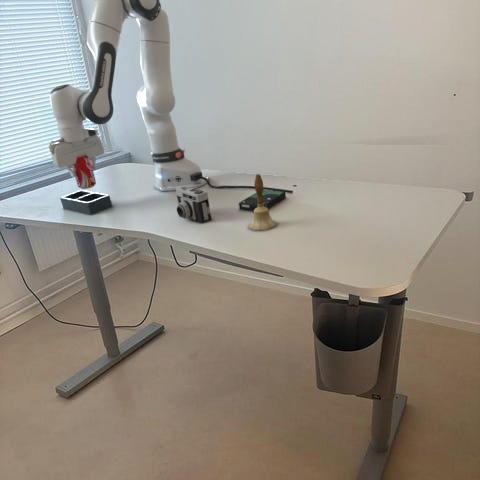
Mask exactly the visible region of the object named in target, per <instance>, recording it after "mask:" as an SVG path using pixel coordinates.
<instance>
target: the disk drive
mask: <svg viewBox="0 0 480 480" xmlns="http://www.w3.org/2000/svg"><path fill="white" fill-rule="evenodd" d="M262 197H263V206H264V207H266V208H268V210H270V209H272V208H273V207H275V206H276V205H278V204H280V203H281V202H282V201H284V200H286V197H287V194H286V192H285V191H274V190H265V189H263V194H262ZM257 207H258V198H257V193H256V192H254V193H253V194H252V195H250V196H248V197H247V198H245V199H243V200H241V201H240V202H238V208H239V210H241V211H247V212H254V210H255V209H256V208H257Z"/></svg>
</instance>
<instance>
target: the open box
mask: <svg viewBox="0 0 480 480" xmlns="http://www.w3.org/2000/svg"><path fill="white" fill-rule="evenodd" d="M110 196H111V195H110V194H106V193H100V192H94V191H90V190H85V189H80V190H77V191H74V192H72V193H68V194H66V195H63V196H61V197H59V199H60V202H61V206H62V208H63V210H67V211H72V212H76V213H80V214H85V215H89V216H92V215H95V214H97V213H100V212H102V211H104V210H107V209H109V208H112V207H113V204H112V200H111V197H110Z"/></svg>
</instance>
